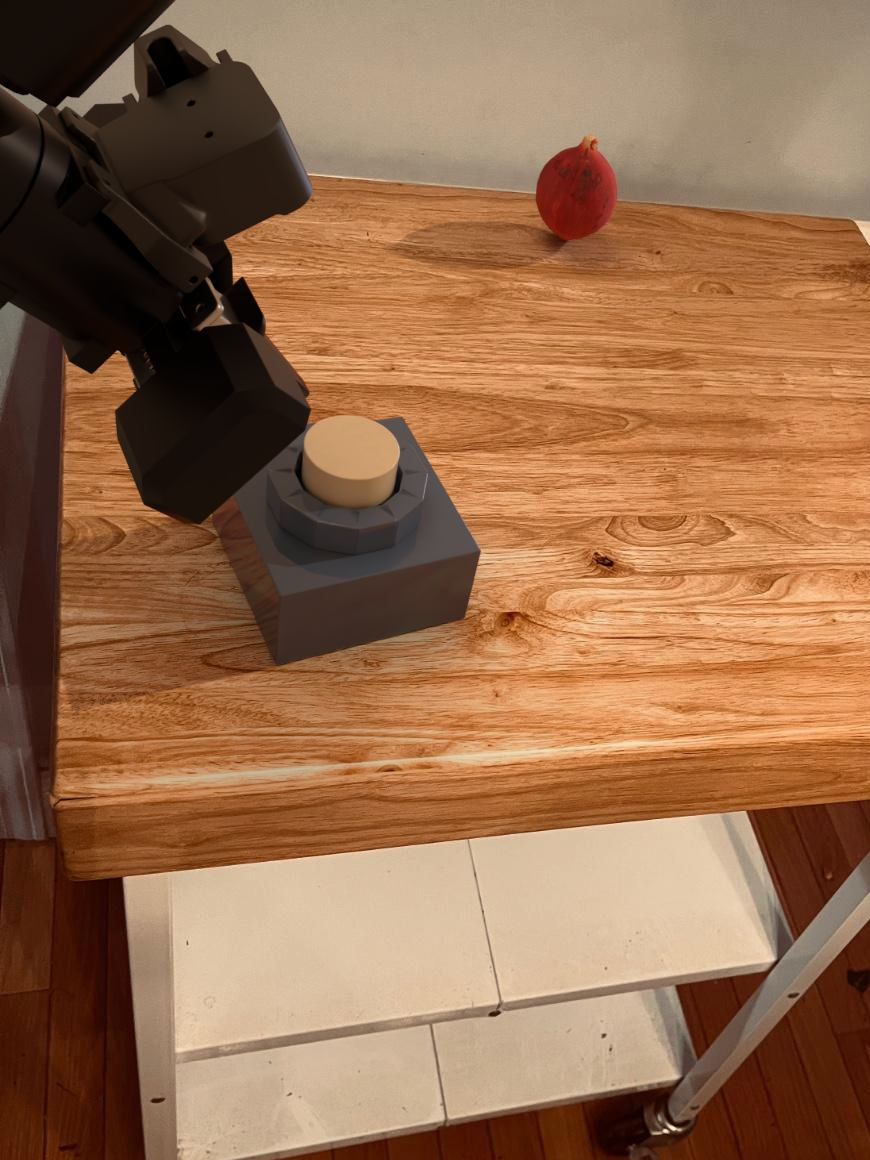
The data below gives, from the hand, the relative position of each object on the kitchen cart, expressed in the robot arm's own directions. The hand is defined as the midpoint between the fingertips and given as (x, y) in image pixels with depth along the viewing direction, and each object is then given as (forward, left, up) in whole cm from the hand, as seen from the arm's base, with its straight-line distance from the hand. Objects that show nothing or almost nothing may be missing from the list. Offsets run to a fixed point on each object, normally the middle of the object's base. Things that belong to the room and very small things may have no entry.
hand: (299, 395), depth 51 cm
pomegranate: (+15, +36, -12) cm, 41 cm away
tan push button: (+2, +1, -6) cm, 6 cm away
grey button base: (+2, +1, -12) cm, 12 cm away
